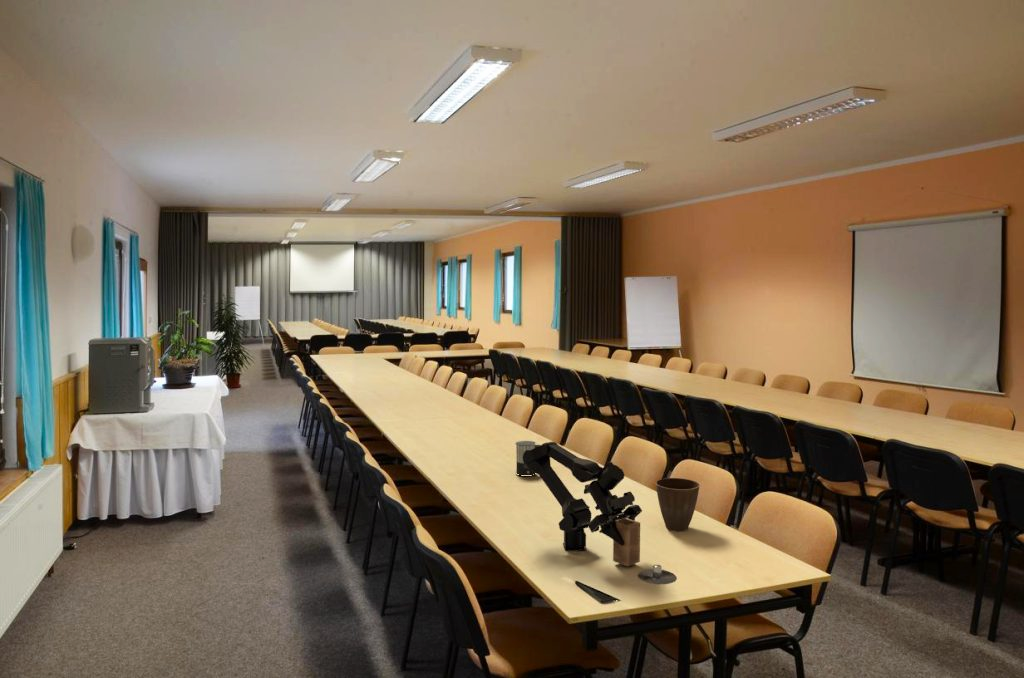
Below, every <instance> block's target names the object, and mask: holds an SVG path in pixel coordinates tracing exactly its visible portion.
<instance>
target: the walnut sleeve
mask: <svg viewBox="0 0 1024 678" xmlns="http://www.w3.org/2000/svg"><path fill="white" fill-rule="evenodd" d="M616 528H617V530H618V531H619V533H620V535H621V537H622V539H623V541H624V543H625V544H624V545H623V546H621V545H620V544H619V543H617V542H616V541H614V540H613V539H612V540H613V543H612V548H613V550H612V551H613V552H612V556H613V557H612V561H613V562H615V563H618V564H620V565H621V566H622V565H623V566H624V567H630V566H632V565H635V564H637V563H641V522H640V521H637V520H635V521H634V520H631V519H628V518H625V519H621V520H617V521H616Z"/></svg>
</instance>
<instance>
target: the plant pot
mask: <svg viewBox="0 0 1024 678" xmlns="http://www.w3.org/2000/svg"><path fill="white" fill-rule="evenodd" d="M655 487H656V493H657V494H656V495H657V499H658V500H657V501H658V504H659V508H660V513H661V517H662V521H663V522H664V525H665V527H666V529H667V530H668V531H669V530H670V531H673V532H685V531H687V530H688V529H689V527H690V524H691V521H692V519H693V515H694V514H695V511H696V510H695V509H696V506H697V502H698V496H699V490H700V483H698V482H697V481H695V480H692V479H687V478H681V477H679V478H678V477H665V478H662V479H658V480H657V481H655Z"/></svg>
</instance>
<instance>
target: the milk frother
mask: <svg viewBox="0 0 1024 678" xmlns="http://www.w3.org/2000/svg"><path fill="white" fill-rule="evenodd" d="M514 444H515V445H516V452H515V454H516V459H515V460H516V472H515V474H516V473H517V474H519V475H533V474H535V472H533V471H531V470H530V469H529V468H528V467H527V466H526V465H525V464H524V462H523V454H524V452H525V451H526V450H530V449H534V448H536V447H539V446H540V445H541V444H536V441H533V440H519V441H516V442H515V443H514Z"/></svg>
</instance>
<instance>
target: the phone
mask: <svg viewBox="0 0 1024 678" xmlns="http://www.w3.org/2000/svg"><path fill="white" fill-rule="evenodd" d="M574 583H575V585H576V586H577V587H578V588H580V589H581V590H582V591H584V592H585V594H587V595H589V596H591V597H592V598H593V599H595V600H596V601H597V602H598V603H600V604H607V603H608V602H609V603H612V601H614V602H617V601H616V600H618V601H621V599H619V598H618V597H615V596H612V595H611V594H608V593H606V592H603V591H601V590H599V589H597V588H595V587H593V586H590V585H587V584H585V583H583V582H580V581H578V580H575V582H574Z"/></svg>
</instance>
